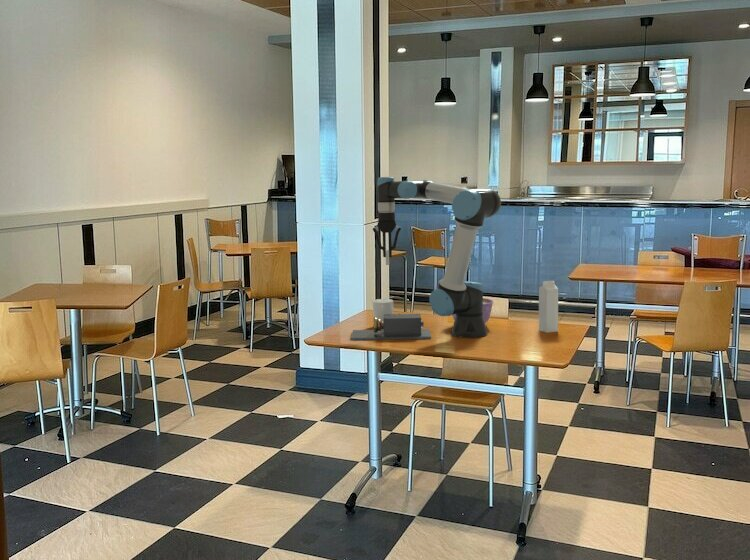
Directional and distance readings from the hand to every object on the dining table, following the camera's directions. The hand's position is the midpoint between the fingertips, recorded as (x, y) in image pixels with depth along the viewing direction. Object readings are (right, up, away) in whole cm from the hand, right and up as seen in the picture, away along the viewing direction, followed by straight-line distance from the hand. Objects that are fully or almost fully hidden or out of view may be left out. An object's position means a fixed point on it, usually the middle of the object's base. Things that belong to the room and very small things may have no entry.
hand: (387, 264), depth 329 cm
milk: (+70, -29, -9) cm, 77 cm away
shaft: (+5, -30, -11) cm, 32 cm away
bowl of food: (+38, -28, +5) cm, 48 cm away
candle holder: (-2, -29, +10) cm, 30 cm away
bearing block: (+1, -31, -11) cm, 33 cm away
